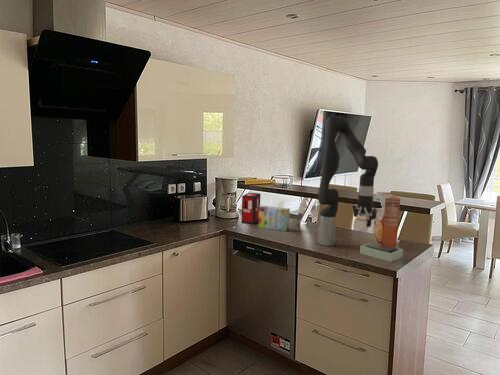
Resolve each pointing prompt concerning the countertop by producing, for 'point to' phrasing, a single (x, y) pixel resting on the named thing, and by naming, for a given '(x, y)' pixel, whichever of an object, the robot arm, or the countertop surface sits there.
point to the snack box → (274, 218)
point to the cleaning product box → (250, 208)
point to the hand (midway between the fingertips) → (363, 225)
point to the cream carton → (362, 221)
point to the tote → (381, 253)
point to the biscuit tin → (383, 247)
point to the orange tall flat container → (386, 219)
